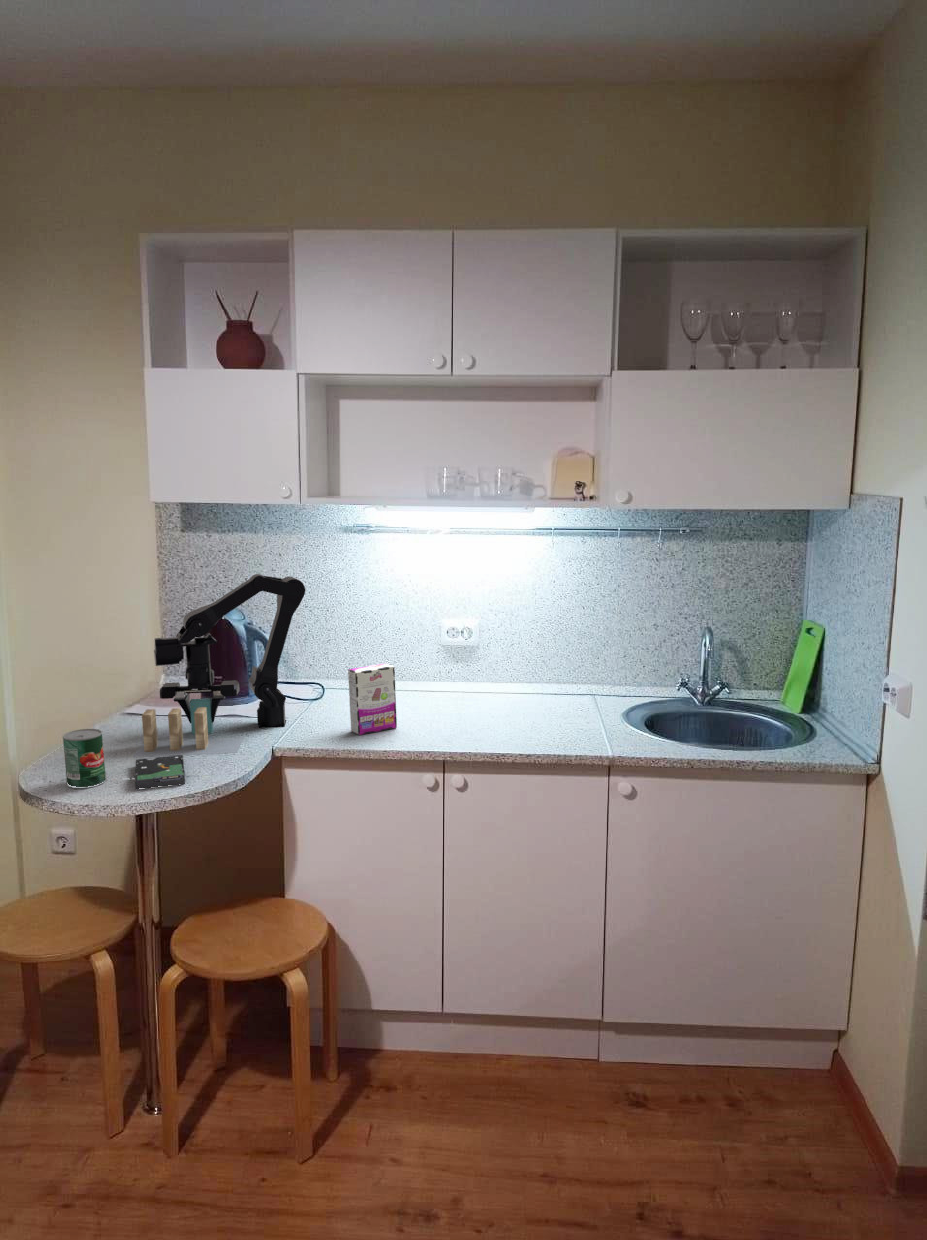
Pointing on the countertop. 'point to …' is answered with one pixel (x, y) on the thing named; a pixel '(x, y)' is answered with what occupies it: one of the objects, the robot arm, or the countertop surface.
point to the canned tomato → (84, 757)
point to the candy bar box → (372, 698)
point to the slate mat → (193, 748)
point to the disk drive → (159, 772)
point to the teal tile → (198, 704)
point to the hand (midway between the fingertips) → (202, 722)
